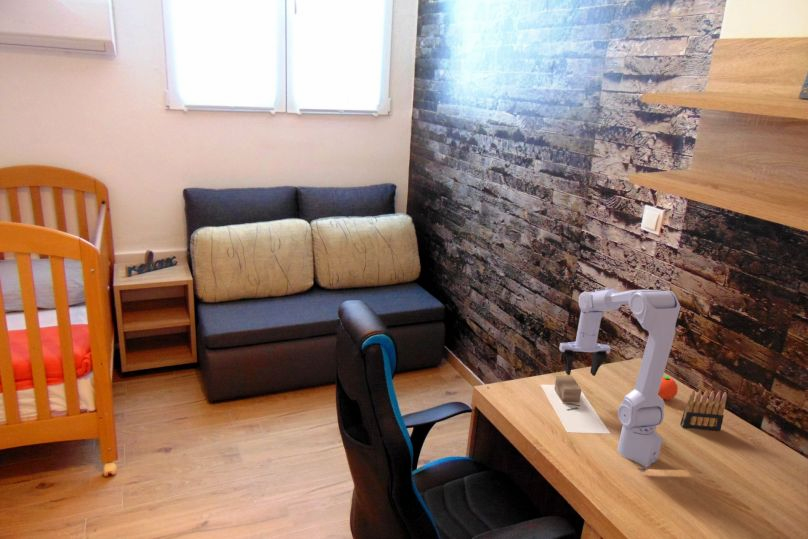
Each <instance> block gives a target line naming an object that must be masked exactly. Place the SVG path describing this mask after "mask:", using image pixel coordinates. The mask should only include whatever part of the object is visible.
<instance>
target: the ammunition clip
mask: <svg viewBox="0 0 808 539" xmlns="http://www.w3.org/2000/svg"><path fill="white" fill-rule="evenodd" d="M695 396H696V397H695ZM708 396H709V397H708ZM727 396H728V395H727V391H724V393H723V394H722V396H721V391H720V390H719V391H718V392H717V393H716V395H715V391H714V390H712V391H711V392H710V394H709V393H708V390H705V391H704V393H703V394H702V390H701V389H699V390H698V392H697V393H696V391H695V389H694V388H693V389H692V390H691V392H690V395H689V398H688V400H687V403H686V407H685V408H684V411H683V413H682V417H681V420H680V423H679V424H680V426H681V428H682V429H689V430H690V429H691V430H699V431H700V430H702V431H710V432H711V431H712V432H714V431H715V432H721V430H722V425H723V420H724V418H725V417H724V412H725V408H726V403H727V402H726V401H727Z"/></svg>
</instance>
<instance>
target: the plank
mask: <svg viewBox="0 0 808 539" xmlns="http://www.w3.org/2000/svg"><path fill="white" fill-rule="evenodd" d="M539 386H540V387H541V388H542V390H543V393H544V394H545V395H546V397H547V399H548V401H549V403H550V404H551V406H552V408H553V409H554V412H555V413H556V415H557V417H558V419H559V420H560V422H561V424H562V425H563V427H564V429H565V432H567V433H569V434H570V433H572V434H575V433H576V434H578V433H579V434H581V433H582V434H610V435H611V432H610V431H609V429H608V428H607V426H606V425H605V423H604V422H603V420H602V419H601V418H600V416H599V415H598V413H597V412H596V410H595V408H594V407H593V406H592V404H591V403H590V400H588V399H587V397H586V396H585V394H584V392H583V390H581V396H580V401H579V404H574V403H562V402H561V400H560V398H559V397H558V395H557V393H556V392H555V390H554V388H555V384H539Z"/></svg>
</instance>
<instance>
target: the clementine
mask: <svg viewBox="0 0 808 539" xmlns="http://www.w3.org/2000/svg"><path fill="white" fill-rule="evenodd" d="M678 390H679V388H678V384H677V382H676V381H675V380H674V379H673V378H671V377H670V376H669V375H665V374H664V375H663V378H662V382H661V385H660V389H659V392H658V395H659V396H660V397H661V398H662V399H663V400H671V399H673V398H675V397H676V395H677V393H678Z"/></svg>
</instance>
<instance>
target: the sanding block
mask: <svg viewBox="0 0 808 539" xmlns="http://www.w3.org/2000/svg"><path fill="white" fill-rule="evenodd" d="M554 385H555V388H554V390H555V392H556V393H557V395H558V397H559V398H560V400H561V402H562V403H574V404H579V401H580V396H581V391H582V388H581V387H580V385H579V384H578V382H577V381H576V380H575V377H573V376H570V375H566V376H565V375H556V376H555V383H554Z"/></svg>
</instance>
